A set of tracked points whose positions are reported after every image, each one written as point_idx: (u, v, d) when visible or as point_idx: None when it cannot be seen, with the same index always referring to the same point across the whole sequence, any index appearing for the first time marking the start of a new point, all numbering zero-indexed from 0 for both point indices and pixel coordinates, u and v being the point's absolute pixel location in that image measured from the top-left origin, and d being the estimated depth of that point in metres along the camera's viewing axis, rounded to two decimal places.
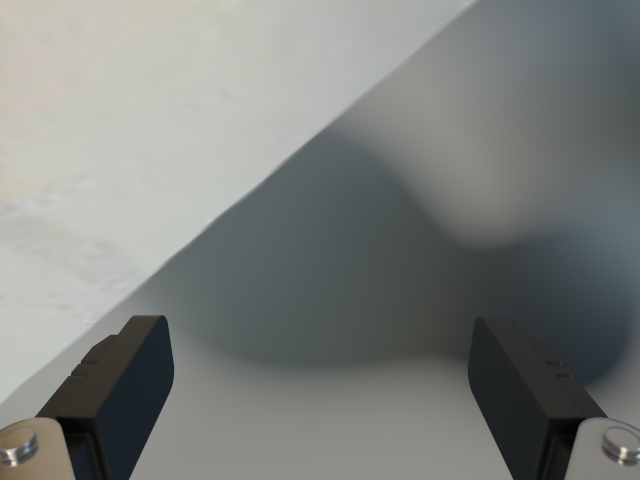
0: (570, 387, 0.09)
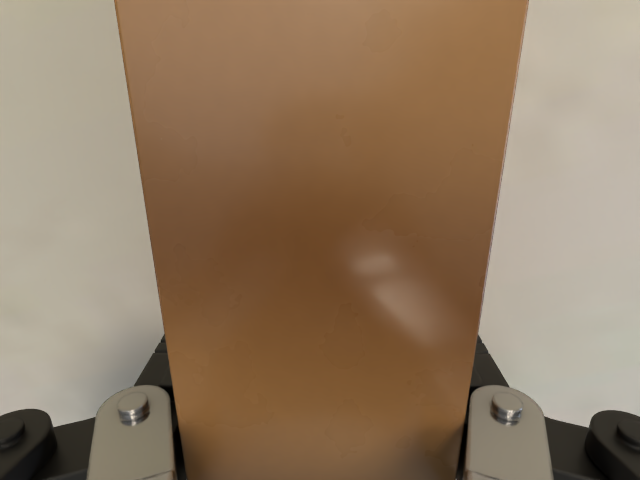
0: (482, 362, 0.10)
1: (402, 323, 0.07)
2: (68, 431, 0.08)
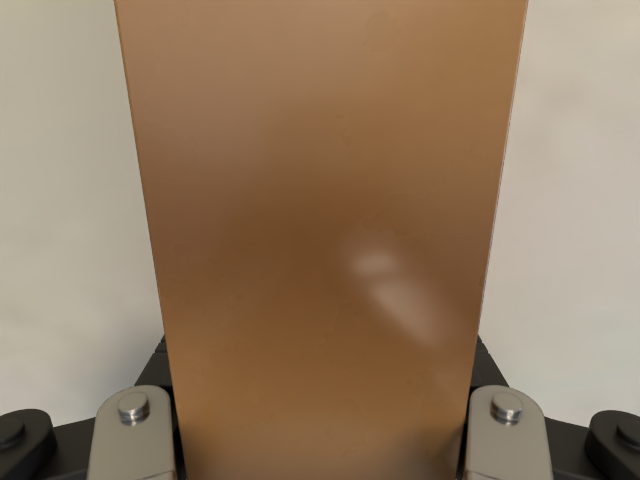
0: (482, 362, 0.10)
1: (402, 322, 0.07)
2: (69, 432, 0.08)
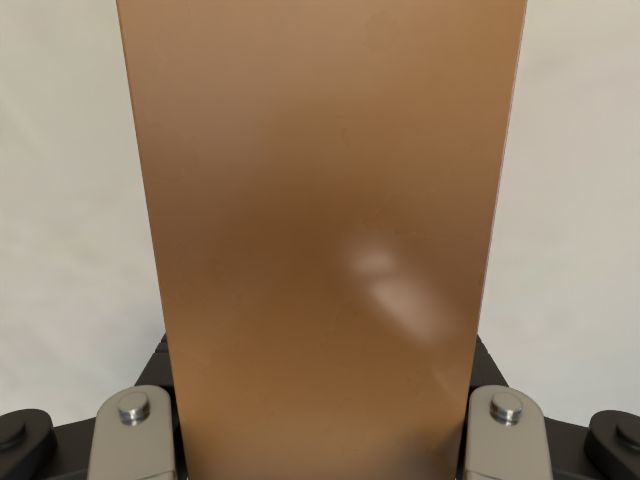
0: (482, 362, 0.10)
1: (402, 321, 0.07)
2: (69, 431, 0.08)
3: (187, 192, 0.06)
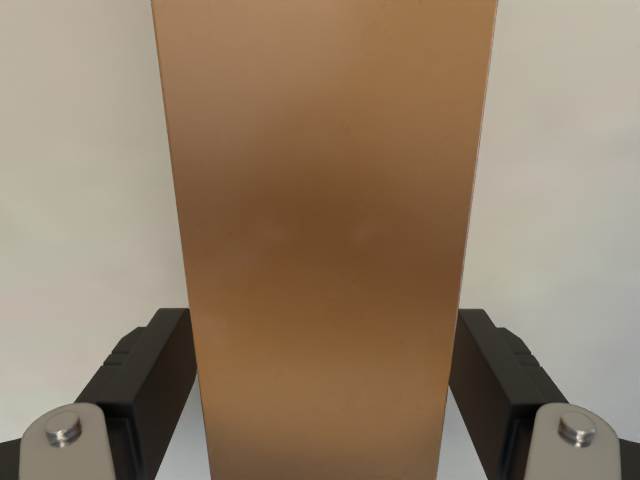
0: (536, 376, 0.09)
1: (394, 289, 0.08)
2: None
3: (209, 175, 0.07)
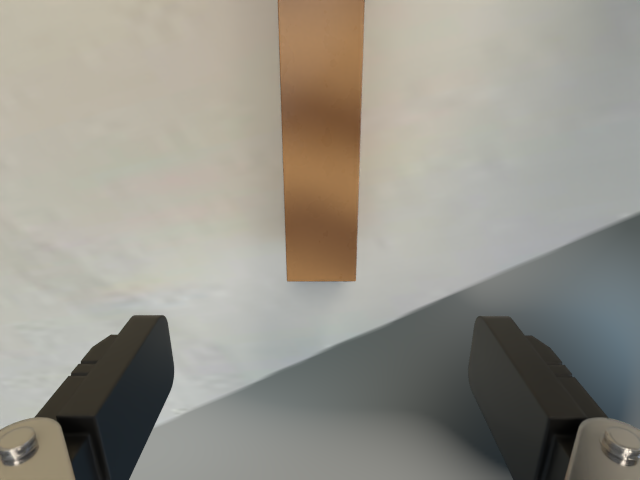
0: (570, 387, 0.09)
1: (341, 132, 0.27)
2: None
3: (290, 98, 0.26)
